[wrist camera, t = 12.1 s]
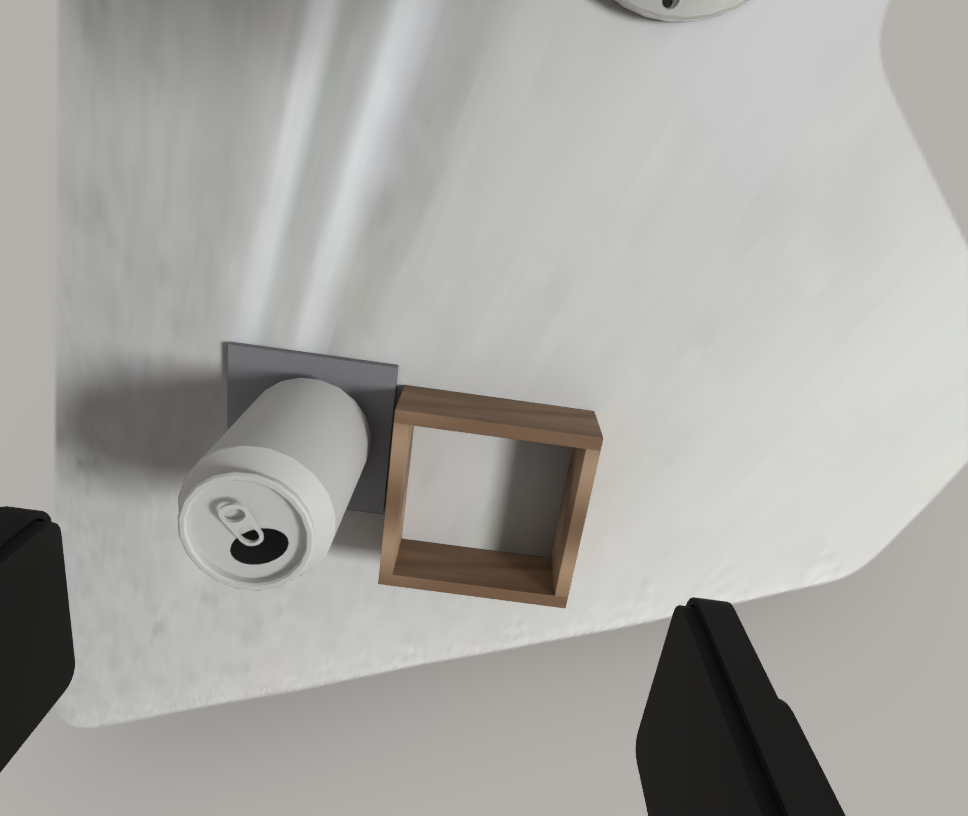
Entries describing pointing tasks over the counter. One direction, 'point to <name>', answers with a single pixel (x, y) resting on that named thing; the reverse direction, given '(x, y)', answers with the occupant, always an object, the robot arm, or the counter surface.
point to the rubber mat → (356, 378)
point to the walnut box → (476, 566)
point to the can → (275, 486)
